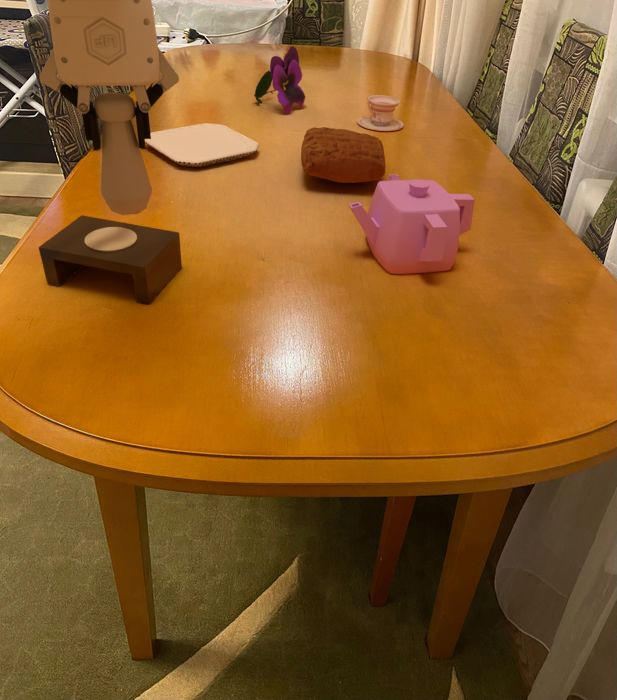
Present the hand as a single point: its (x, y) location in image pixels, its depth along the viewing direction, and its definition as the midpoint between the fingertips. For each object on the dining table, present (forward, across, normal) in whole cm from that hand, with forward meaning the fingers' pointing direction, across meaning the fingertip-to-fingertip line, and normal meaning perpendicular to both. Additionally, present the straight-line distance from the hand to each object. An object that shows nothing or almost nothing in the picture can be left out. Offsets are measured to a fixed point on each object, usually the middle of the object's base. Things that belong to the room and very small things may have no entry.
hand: (119, 144), depth 68 cm
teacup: (+23, +62, +78) cm, 102 cm away
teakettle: (+23, +43, +12) cm, 50 cm away
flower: (+23, +38, +94) cm, 104 cm away
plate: (+23, +15, +62) cm, 68 cm away
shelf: (+23, -3, +11) cm, 26 cm away
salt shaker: (+8, 0, 0) cm, 8 cm away
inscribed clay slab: (+23, +42, +45) cm, 66 cm away
